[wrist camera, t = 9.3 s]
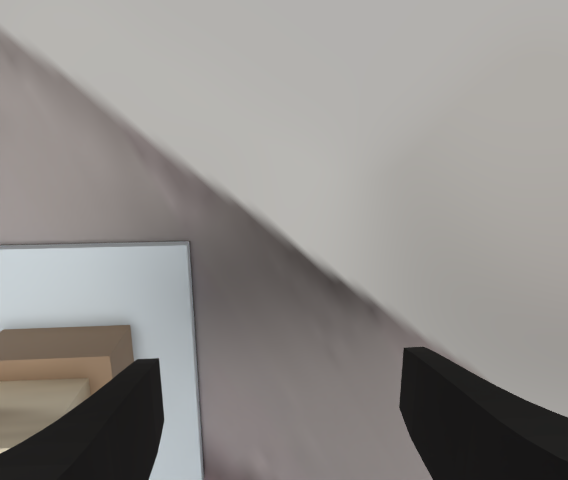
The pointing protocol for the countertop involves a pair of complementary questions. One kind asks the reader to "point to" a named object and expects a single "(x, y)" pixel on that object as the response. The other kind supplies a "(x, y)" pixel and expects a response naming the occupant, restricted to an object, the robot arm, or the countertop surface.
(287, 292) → the countertop surface
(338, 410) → the countertop surface
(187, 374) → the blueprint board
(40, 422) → the maple block
